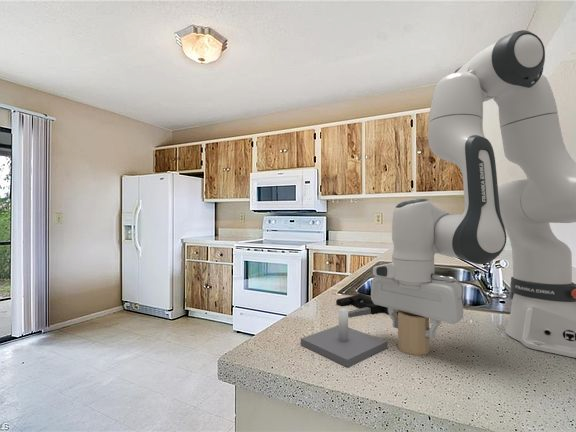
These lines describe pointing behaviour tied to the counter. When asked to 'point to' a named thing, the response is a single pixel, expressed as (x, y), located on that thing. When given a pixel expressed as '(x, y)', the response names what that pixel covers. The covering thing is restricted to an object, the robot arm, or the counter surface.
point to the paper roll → (412, 333)
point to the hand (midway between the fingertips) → (413, 332)
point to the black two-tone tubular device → (362, 305)
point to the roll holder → (344, 342)
